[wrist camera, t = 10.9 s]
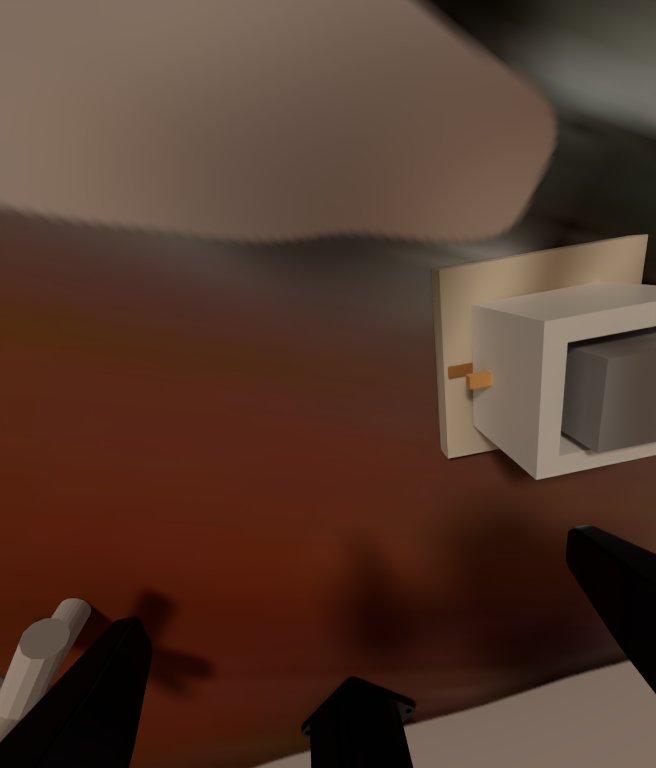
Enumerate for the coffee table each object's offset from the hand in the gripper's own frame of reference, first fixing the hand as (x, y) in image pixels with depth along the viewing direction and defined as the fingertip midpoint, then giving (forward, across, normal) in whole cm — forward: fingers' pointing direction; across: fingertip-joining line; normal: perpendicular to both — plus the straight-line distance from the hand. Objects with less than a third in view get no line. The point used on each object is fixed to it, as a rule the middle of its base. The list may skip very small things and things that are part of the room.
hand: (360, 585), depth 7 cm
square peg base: (+12, -11, 0) cm, 16 cm away
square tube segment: (+11, -11, 0) cm, 15 cm away
